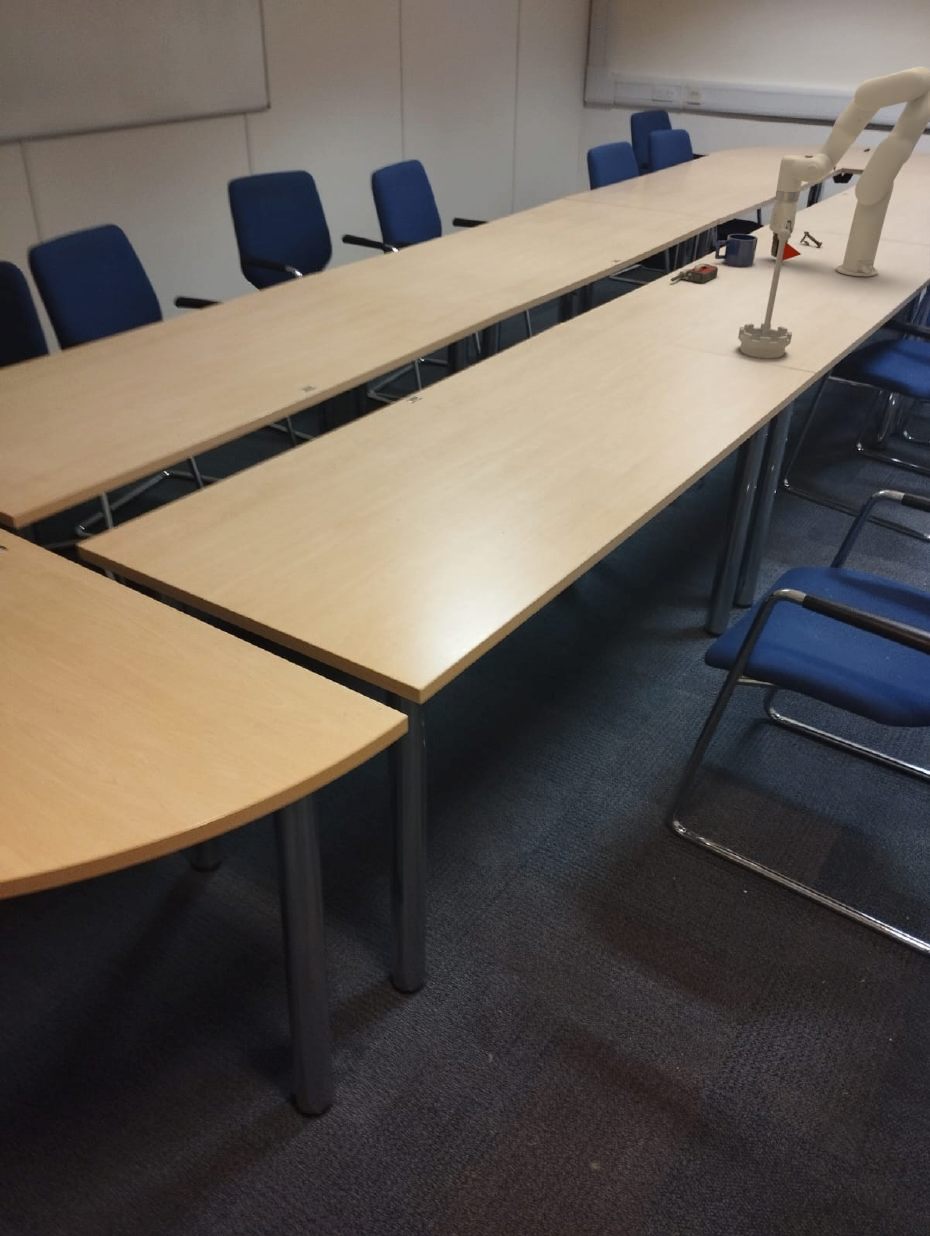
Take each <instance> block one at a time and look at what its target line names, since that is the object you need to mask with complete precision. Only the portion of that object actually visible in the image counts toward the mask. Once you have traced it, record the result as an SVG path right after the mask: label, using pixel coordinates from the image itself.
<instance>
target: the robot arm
mask: <svg viewBox="0 0 930 1236" xmlns="http://www.w3.org/2000/svg"><path fill="white" fill-rule="evenodd" d="M903 103H906V104H905V106H904V108H903V110H902V112H901V114H900V115H899V117H898V118H897V121H896V122H895V124H894V126H893V128H892V130H891V131H890V133H889V134H888V135H887V137H886V138H884V139H883V140H881V142H880V143H879V144H878V145H877V147H876V148H875V150H874V151H873V153H872V155H871V156H870V159H869V161H868V162H867V164H866V166H865V167H864V170H863V171H862V173H861V174H860V176H859V178H858V180H857V182H856V184H855V188H854V195H855V198H856V200H857V202H856V205H855V209H854V212H853V217H852V221H851V225H850V230H849V233H848V234H849V235H848V238H847V239H848V240H847V244H846V248H845V253H844V256H843V261H842V264H839V265H837V266H836V271H837V272H838V273H840V274H843V275H848V276H853V277H873V276H876V275H877V272H878V270H877V269H876V268H875V267H874V266H875V265H874V264H875V260H876V256H877V252H878V248H879V244H880V240H881V236H882V232H883V227H884V223H885V220H886V216H887V211H888V207H889V204H890V200H891V197H892V194H893V191H894V185H895V180H896V178H897V176H898V174H899V173H900V171H901V169H902V168H903V166H904V165H905V164H906V163H907V162H908V160H909V159H910V158H911V156H912V154H913V151H914V149H915V147H916V146H917V144H918V142H919V141H920V139H921V137H922V135H923V133H924V131H925V129H926V128H927V126H928V124H929V122H930V69H928V68H927V67H926V66H920V65H918V66H913V67H910V68H907V69H904V70H901V71H896V72H893V73H890V74H887V75H883V76H878V77H872V78H868V79H866V80H863V82H861V83H859V86H858V87H857V88H856V90H855V93H854V96H853V98H852V99H851V100H850V102H849V103H848V104H847V106H846V107H845V108H844V109H843V111H842V112H841V114H839V116H838V117H837V119H836V120H835V122H834V124H833V126H832V130H831V133H830V134H829V136H828V137H827V139H826V140H825V142H824V143H823V144H822V145H821V146H820V148H819V150H818V151H817V152H816V154H815V155H814V156H812V157H806V158H805V156H803V155H799V154H786V155H784V156H782V158H781V161H780V165H779V166H780V167H779V171H778V178H777V184H776V192H775V197H774V204H773V208H772V211H771V216H770V221H769V231H771V232H772V242H771V247H772V246H773V240H774V234H778V233H779V231H780V230H782V229H787V230H789V232H790V238H791V237H792V234H793V232H794V229H795V224H796V217H797V216H796V215H797V204H798V203H799V200H800V194H801V190H802V189H801V188H802V184H803V183H802V182H805V183H808V184H815V183H817V182H818V183H819V182H820V181H822V180H823V179H825V178H826V177H828V176H829V174H831V173H832V171H833V170H834V169H835V167H836V166H837V165H838V164H839V162H840V161H841V159H842V158H843V157H844V156H845V154H846V152H848V150H849V149H850V148H851V146H852V145H853V144H854V143H855V141H856V140H857V139H858V137H860V134H862V132H863V131H864V130H865V128H866V127H867V125H868V124H869V123H870V122H871V121H872V119H873V118H874V117H875V115H876V114H877V113H878V111H880V109H883V108H887V107H891V106H895V105H899V104H903ZM779 241H780V240H779ZM786 243H788V244H789V239H788V240H787V241H786ZM778 247H779V243H777V249H776V256H777V252H778ZM771 252H772V248H771V249H770V253H771Z"/></svg>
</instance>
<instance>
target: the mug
mask: <svg viewBox="0 0 930 1236" xmlns="http://www.w3.org/2000/svg"><path fill="white" fill-rule="evenodd" d="M758 240H759V239H758V237H757V236H755V235H752V234H745V233H732V234H728V235H727V238H726V240H717V242H716V247H715V254H714V259H715V260H723V264H725V265H726V266H730V267H735V268H747V267H748V268H749V267H752V266H753V265H754V262H755V258H756V250H757V245H758ZM721 245H725V248H724V249H725V250H724V254H720V250H721Z"/></svg>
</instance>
